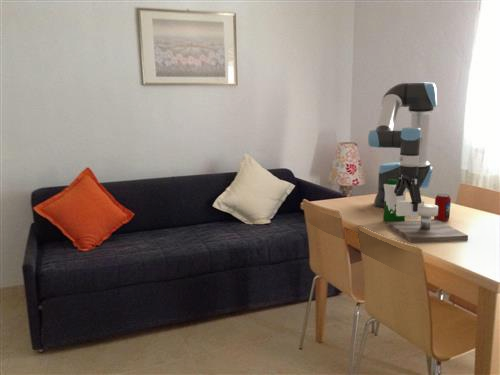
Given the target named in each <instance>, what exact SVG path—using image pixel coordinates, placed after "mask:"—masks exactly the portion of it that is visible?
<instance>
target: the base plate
mask: <svg viewBox="0 0 500 375" xmlns="http://www.w3.org/2000/svg"><path fill="white" fill-rule="evenodd" d="M420 226H421V220H405V221H400V222H386V227H387V228H388V229H390V230H392V231H393V232H395V233H396V234H397V235H399V236H400V237H401V238H403V239H404V240H405V241H407V242H409V243H411V244H414V243H416V244H417V243H438V242H439V243H441V242H458V241H459V242H463V241H468V240H469V235H468V234H466V233H465V232H462V231H460V230H458V229H456V228H454V227H452V226H450V225H449V224H446V223H444V221H439V220H436V219H431V227H430V229H429V230H424V229H421V228H420Z"/></svg>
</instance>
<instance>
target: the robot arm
mask: <svg viewBox="0 0 500 375" xmlns="http://www.w3.org/2000/svg"><path fill="white" fill-rule="evenodd" d="M437 105H438V97H437V86H436V84H435V83H434V82H426V81H425V82H401V83H399V84H395V85H394V86H392V87H391V88H389V89H388V90H387V91H386V92H385V93H384V94H383V97H382V100H381V106H382V107H381V110H380V114H379V117H378V121H377V123H376V126H375V127H376V128H375V129H371V130H369V131H368V137H367V143H368V146H369V147H371V148H377V149H378V148H382V149H383V148H385V149H387V148H388V149H389V148H391V149H393V148H395V149H400V151H399V152H400V153H399V157H398V159H399V162H398V161H396V162H395V161H394V162H386V163H382V164H380V165H379V167H378V180H377V181H378V184H377V193H376V195H375V198H374V200H373V205H374V206H375V207H377V208H382V209H384V203H385V190H384V184H387V183H388V179H397V184H396V187H395V190H394V193H396V196H397V198H396V203H397V201H403V196H402V195H403V193H404V191H405V189H406V188H407V191H408V192H409V196H410V200H412V202H411V210H410V216H409V219H410V220H417V219H418V215H417V213H418V204H419V203H421V202H422V201H421V200H422V196H421V195H422V194H421V190H420V189H428V188H429V187H430V183H431V180H432V176H433V175H432V174H433V170H434V167H433V166H431V162H430V161H429V160H428V153H429V138H430V137H429V136H430V135H429V134H430V133H429V132H430V118H431V114H432V112H434V108H436V107H437ZM401 108H408V112H409V113H410V114H411V116H410V118H411V120H410V121H411V122H410V127H402V129H401V130H394V129H395V124H396V120H397V117H398V112H399V110H400V109H401Z"/></svg>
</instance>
